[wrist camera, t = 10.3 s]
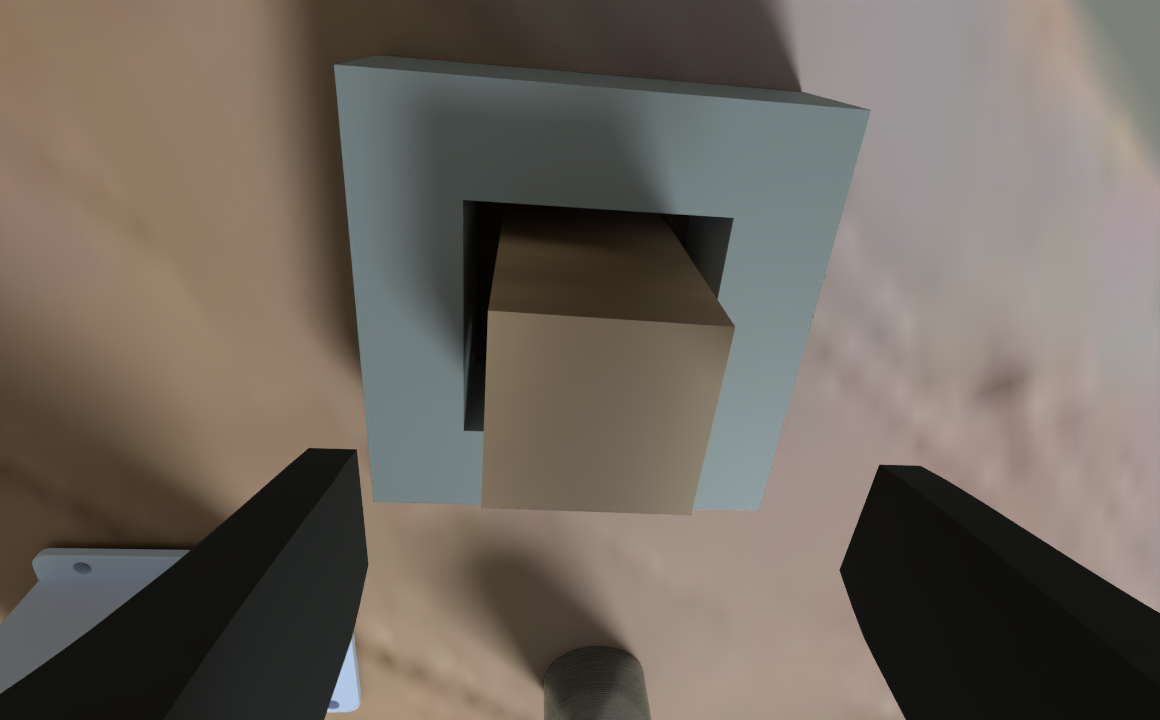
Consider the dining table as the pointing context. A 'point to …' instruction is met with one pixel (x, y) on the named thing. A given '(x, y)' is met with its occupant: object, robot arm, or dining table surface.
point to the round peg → (595, 686)
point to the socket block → (584, 180)
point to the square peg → (598, 364)
